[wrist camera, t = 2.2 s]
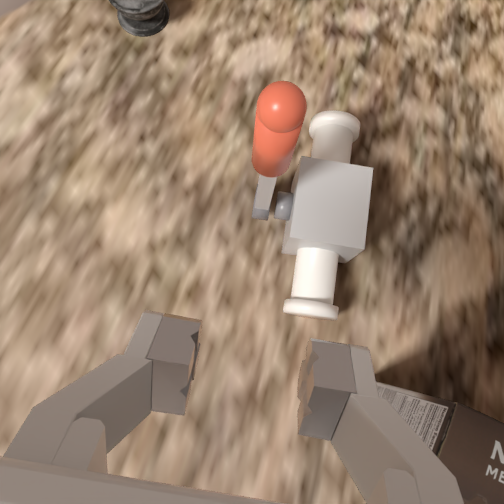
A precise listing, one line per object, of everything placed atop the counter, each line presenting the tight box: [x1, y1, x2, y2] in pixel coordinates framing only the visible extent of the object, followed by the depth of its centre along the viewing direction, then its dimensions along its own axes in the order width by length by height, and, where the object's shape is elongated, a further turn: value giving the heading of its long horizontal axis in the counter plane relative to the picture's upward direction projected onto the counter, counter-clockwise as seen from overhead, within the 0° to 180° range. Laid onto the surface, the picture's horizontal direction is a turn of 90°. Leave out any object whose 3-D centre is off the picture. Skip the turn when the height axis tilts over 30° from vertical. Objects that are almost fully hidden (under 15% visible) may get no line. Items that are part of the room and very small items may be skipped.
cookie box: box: [376, 381, 504, 504], centre depth 29 cm, size 9×6×16 cm
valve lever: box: [252, 81, 307, 220], centre depth 30 cm, size 3×3×18 cm
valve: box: [274, 111, 373, 320], centre depth 38 cm, size 18×7×6 cm, turn 171°
